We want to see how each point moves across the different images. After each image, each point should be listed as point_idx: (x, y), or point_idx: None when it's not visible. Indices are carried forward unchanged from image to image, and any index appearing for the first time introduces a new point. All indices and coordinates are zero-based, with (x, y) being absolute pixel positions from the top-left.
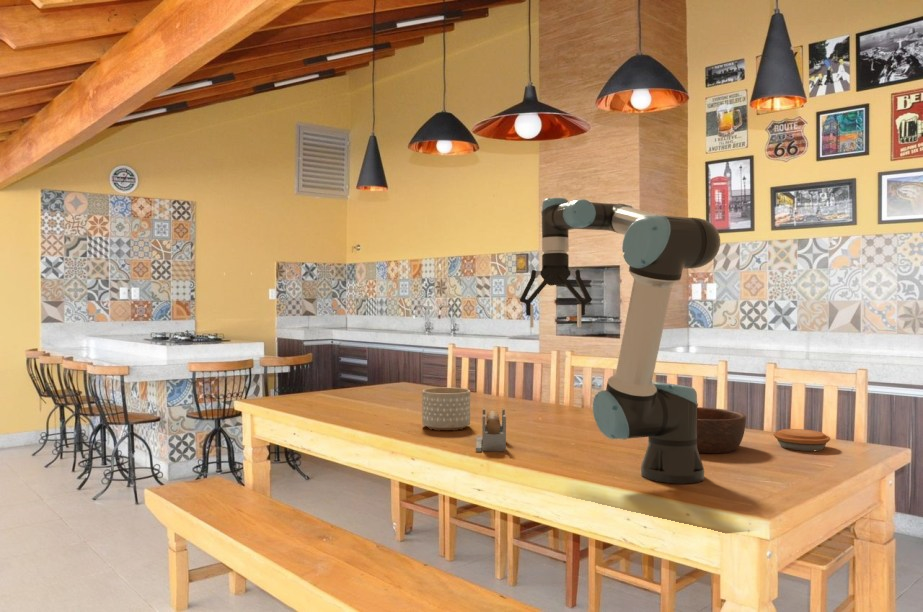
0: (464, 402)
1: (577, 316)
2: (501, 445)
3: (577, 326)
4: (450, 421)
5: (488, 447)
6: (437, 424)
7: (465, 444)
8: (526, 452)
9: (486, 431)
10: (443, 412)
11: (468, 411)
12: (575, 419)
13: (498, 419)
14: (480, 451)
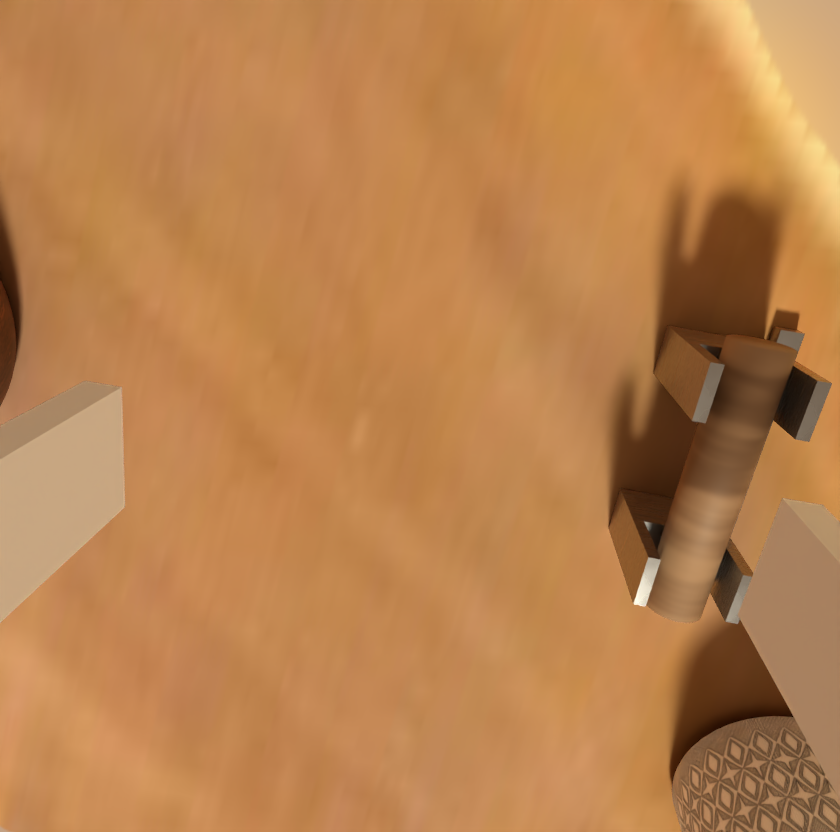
0: (747, 815)
1: (30, 577)
2: (692, 333)
3: (119, 502)
4: (788, 735)
5: None
6: None
7: (791, 475)
8: (588, 296)
9: None
10: None
11: (707, 794)
12: (248, 818)
13: (706, 451)
14: (778, 327)
